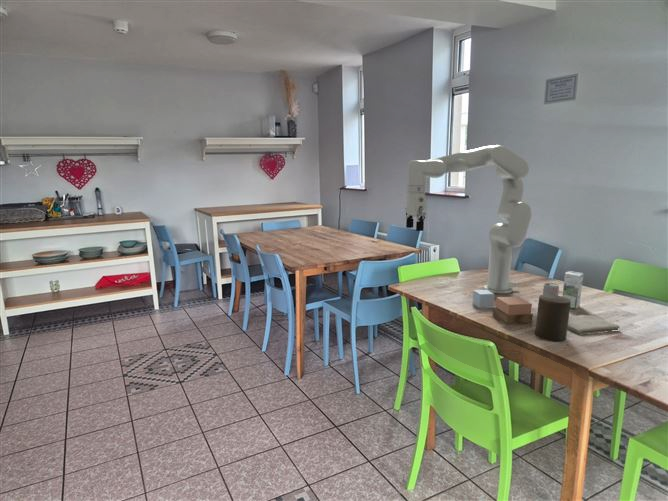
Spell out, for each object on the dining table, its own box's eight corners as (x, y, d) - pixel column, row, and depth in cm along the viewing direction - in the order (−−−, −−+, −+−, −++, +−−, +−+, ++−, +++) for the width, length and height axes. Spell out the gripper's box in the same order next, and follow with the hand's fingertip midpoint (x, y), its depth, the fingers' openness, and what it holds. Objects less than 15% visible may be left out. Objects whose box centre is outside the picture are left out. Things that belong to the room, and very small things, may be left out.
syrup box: (579, 306, 178) (584, 272, 175) (576, 309, 174) (580, 275, 171) (564, 303, 182) (568, 270, 179) (560, 306, 177) (564, 272, 174)
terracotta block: (517, 306, 166) (518, 296, 165) (530, 314, 157) (531, 303, 157) (495, 307, 165) (496, 297, 164) (508, 315, 156) (509, 304, 155)
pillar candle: (552, 344, 140) (557, 300, 137) (528, 333, 148) (532, 291, 146) (572, 339, 144) (578, 297, 141) (548, 329, 152) (553, 289, 149)
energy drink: (543, 310, 172) (546, 281, 170) (557, 313, 168) (561, 284, 166) (538, 313, 169) (541, 284, 166) (553, 317, 165) (556, 287, 162)
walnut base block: (516, 315, 168) (517, 305, 167) (531, 324, 158) (532, 314, 157) (492, 316, 166) (493, 306, 165) (506, 326, 156) (507, 315, 156)
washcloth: (621, 332, 151) (622, 324, 151) (579, 336, 147) (580, 328, 146) (594, 320, 163) (595, 312, 162) (554, 324, 158) (555, 316, 158)
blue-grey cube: (485, 303, 181) (486, 289, 180) (492, 307, 175) (494, 293, 174) (472, 303, 180) (473, 290, 179) (479, 308, 175) (480, 294, 173)
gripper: (434, 190, 175) (431, 231, 179) (415, 188, 192) (413, 226, 195) (417, 191, 173) (415, 232, 177) (399, 188, 190) (398, 226, 193)
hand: (414, 229), depth 186 cm, fingers open, 9 cm apart
